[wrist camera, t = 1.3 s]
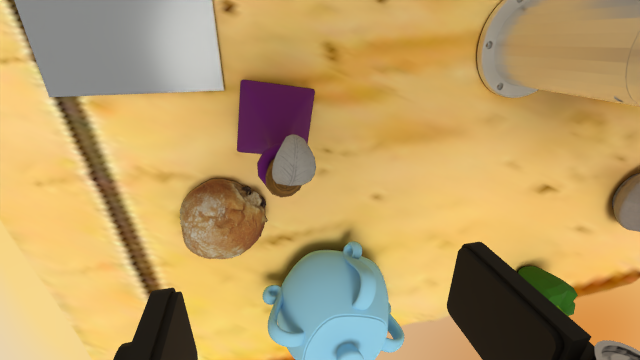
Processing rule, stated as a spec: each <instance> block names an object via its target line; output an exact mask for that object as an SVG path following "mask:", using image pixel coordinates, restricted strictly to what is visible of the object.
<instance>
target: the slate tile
mask: <svg viewBox="0 0 640 360" xmlns="http://www.w3.org/2000/svg"><path fill="white" fill-rule="evenodd" d="M14 1H15V4H16V6H17V9H18V12H19V15H20V17H21V20H22V23H23V26H24V28H25V31H26V34H27V37H28V39H29V42H30V45H31V48H32V50H33V53H34V56H35V59H36V61H37V64H38V67H39V70H40V72H41V75H42V78H43V81H44V83H45V86H46V89H47V92H48V94H49V97H64V96H90V95H117V94H143V93H170V92H196V91H223V90H224V82H223V74H222V67H221V59H220V51H219V44H218V36H217V29H216V21H215V14H214V6H213V0H14Z"/></svg>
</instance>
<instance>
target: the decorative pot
mask: <svg viewBox="0 0 640 360" xmlns="http://www.w3.org/2000/svg"><path fill="white" fill-rule="evenodd" d="M361 255H362V247H361V245H360V244H359V243H357V242H355V241H353V242H349V243H348V244H347V245H346V246H345V247H344V250H343V251H336V250H318V251H314V252H311V253H309V254H307V255H305V256H304V257H303V258H302V259H300V260H299V261H298V262H297V263H296V265H295V266H294V267H293V268H292V270H291V271H290V272H289V274H288V275H287V277H286V278H285V280H284V282H283V284H282V286H281V287H280V286H278V285H271V286H268V287H267V288H266V289H265V290H264V292H263V300H264V302H265V303H267V304H274V306H273V308H272V310H271V313H270V316H269V320H268V332H269V335H270V337H271V338H272V339H273V340H274V341H275V342H276V343H278V344H279V345H282V346H285V347H287V349H288V350H289V352H290V353H291V355H292V356H293V357H294V359H295V360H375V358H376V357H377V356H378V354H379V353H380V351H384V352H395V351H396V350H398V349H399V348H400V347H401V346H402V344H403V342H404V333H403V331H402V329H401V327H400V326H399V324H398V323H397V322H396V320H395V319H394V318H393V317H392V316H391V314H390V312H391V306H390V304H389V302H388V293H387V288H386V284H385V281H384V278H383V275H382V273H381V271H380V269H379V268H378V266H377V265H376V264H375V263H374V262H373V261H371V260H370V259H368V258H365V257H363V256H361ZM277 322H278V325H277ZM387 331H389V332H390V334H391V335H392V337H393V339H389V338H386V336H387Z"/></svg>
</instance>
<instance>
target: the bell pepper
mask: <svg viewBox="0 0 640 360" xmlns="http://www.w3.org/2000/svg"><path fill="white" fill-rule="evenodd" d="M518 274H519V275H521V276H522V277H523V278H524V279H525V280H526V281H527V282H529V283H530V284H531V285H532V286H533V287H534V288H536V289H537V290H538V291H539V292H540V293H541V294H543V295H544V296H545V297H546V298H547V299H548V300H549V301H551V302H552V303H553V304H554V305H555V306H556V307H558V308H559V309H560V310H561V311H562V312H563V313H565V314H566V315H567V316H569V315H572V314H574V309H575V303H574V302H573V301H574V299H575V298H576V297H577V293H576V292H575V290H574V288H573V287H571V286H570V285H569V284H567V283H566V282H564V281H563V280H561V279H560V278H558V277H556V276H554V275H552V274H550V273H548V272H546V271H544V270H542V269H540V268H537V267H535V266H527V267H523V268H521V269H520V270H519V271H518Z"/></svg>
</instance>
